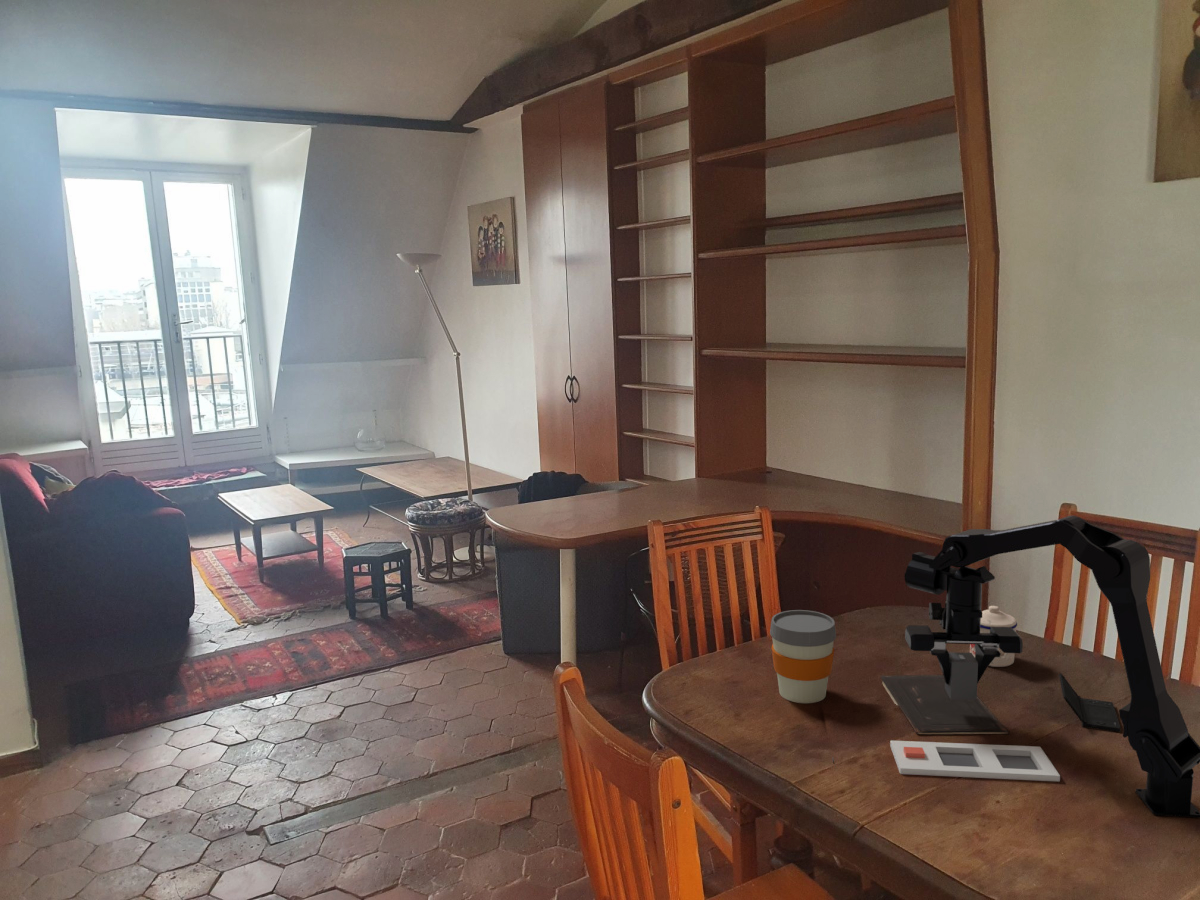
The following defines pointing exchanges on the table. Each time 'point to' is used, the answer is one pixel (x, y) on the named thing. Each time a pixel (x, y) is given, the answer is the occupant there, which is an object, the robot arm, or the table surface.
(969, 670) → the block
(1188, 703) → the table surface
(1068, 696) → the handheld gaming console
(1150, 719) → the robot arm
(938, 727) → the hardcover book
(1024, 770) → the power strip
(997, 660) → the teacup with lid
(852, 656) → the table surface
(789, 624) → the reusable coffee cup
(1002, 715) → the table surface
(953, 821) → the table surface
